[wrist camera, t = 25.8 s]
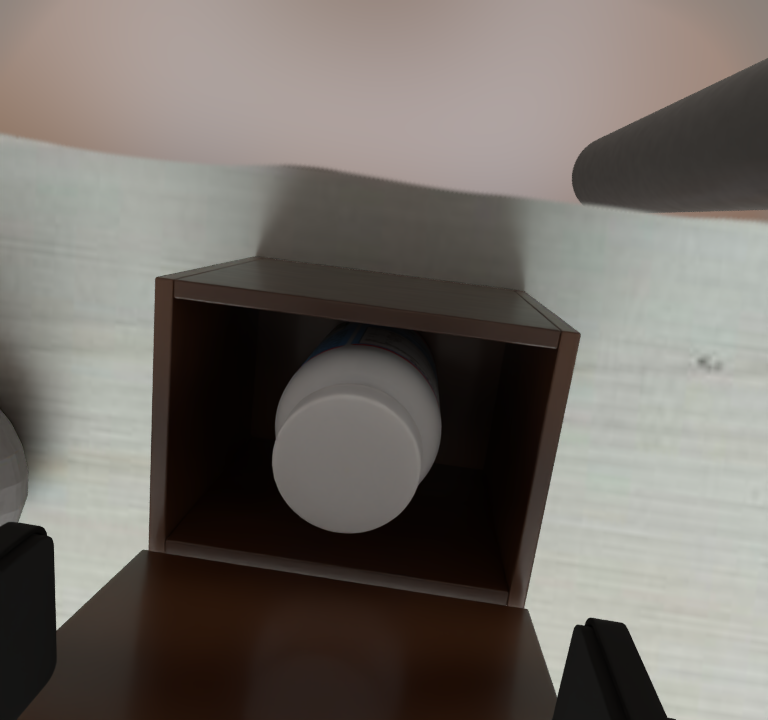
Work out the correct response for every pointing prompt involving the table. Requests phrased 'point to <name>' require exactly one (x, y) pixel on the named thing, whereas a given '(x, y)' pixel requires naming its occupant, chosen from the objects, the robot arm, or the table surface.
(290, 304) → the chest
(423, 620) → the lid
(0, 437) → the coffee pot
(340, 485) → the pill bottle
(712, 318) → the table surface
